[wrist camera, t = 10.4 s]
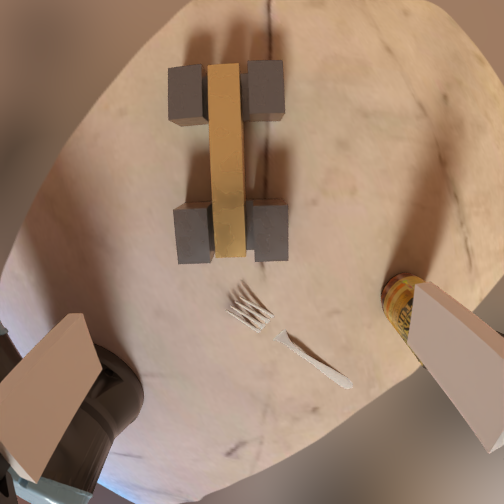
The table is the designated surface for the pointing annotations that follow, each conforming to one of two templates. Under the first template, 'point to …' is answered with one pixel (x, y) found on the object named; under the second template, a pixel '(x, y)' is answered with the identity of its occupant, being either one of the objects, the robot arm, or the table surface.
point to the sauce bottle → (400, 302)
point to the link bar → (227, 160)
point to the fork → (289, 343)
